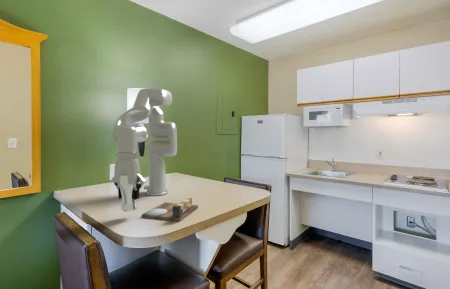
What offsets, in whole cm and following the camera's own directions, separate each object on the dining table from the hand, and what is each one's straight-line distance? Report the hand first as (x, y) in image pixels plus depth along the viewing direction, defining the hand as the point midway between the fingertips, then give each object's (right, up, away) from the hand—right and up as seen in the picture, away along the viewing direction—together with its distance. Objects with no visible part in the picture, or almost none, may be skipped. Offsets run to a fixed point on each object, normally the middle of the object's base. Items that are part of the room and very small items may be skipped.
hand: (128, 197), depth 103 cm
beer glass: (0, -5, 0) cm, 5 cm away
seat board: (+16, -8, +8) cm, 20 cm away
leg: (+22, -7, +4) cm, 23 cm away
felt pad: (+10, -7, +5) cm, 14 cm away
